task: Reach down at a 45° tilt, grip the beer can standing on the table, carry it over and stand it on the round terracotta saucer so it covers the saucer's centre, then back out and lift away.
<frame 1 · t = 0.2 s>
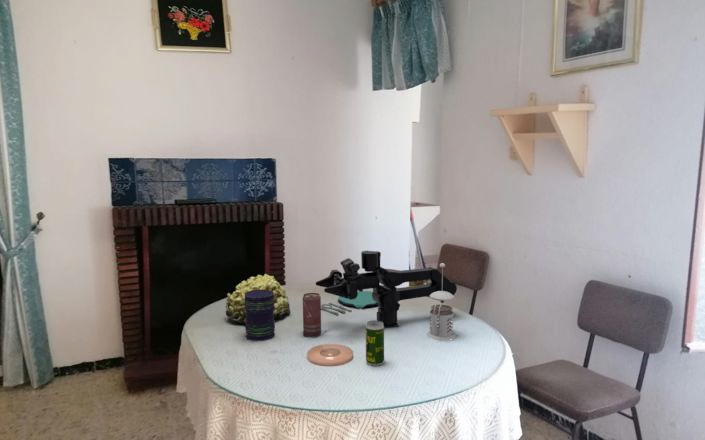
hand: (320, 286, 168), 17 cm above the table, tool horizontal, fingers open, 9 cm apart
french press: (440, 336, 168), on the table
beer can: (374, 363, 147), on the table
can: (312, 334, 170), on the table
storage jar: (260, 336, 169), on the table
saucer: (330, 356, 151), on the table
cauliflower: (258, 316, 190), on the table
cutlery set: (353, 305, 205), on the table
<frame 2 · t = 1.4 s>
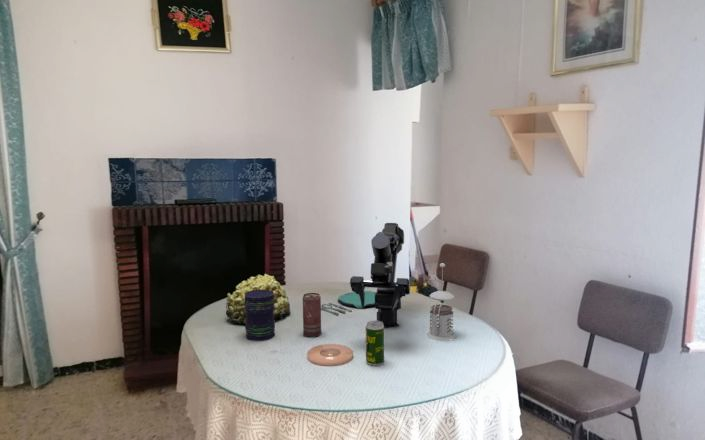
hand: (377, 309, 153), 14 cm above the table, tool tilted 45°, fingers open, 9 cm apart
nothing on the table moved.
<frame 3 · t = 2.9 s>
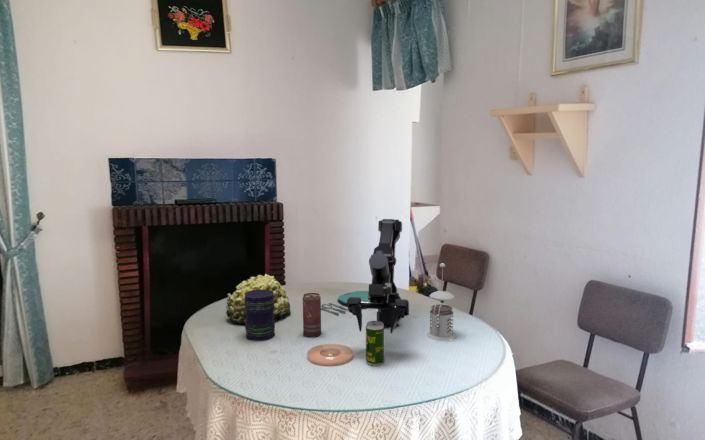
hand: (375, 331, 147), 9 cm above the table, tool tilted 45°, fingers open, 9 cm apart
nothing on the table moved.
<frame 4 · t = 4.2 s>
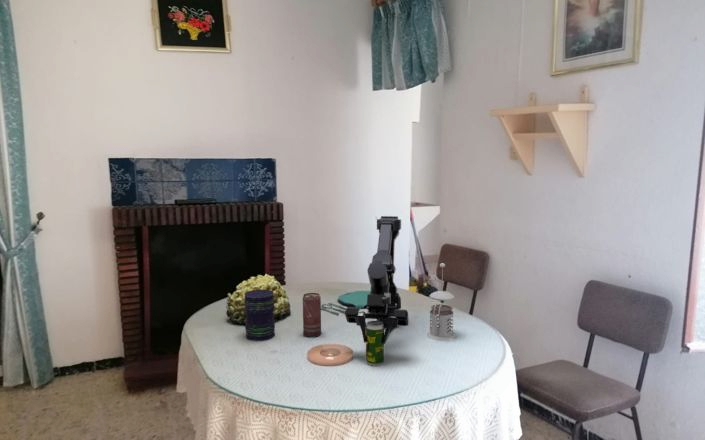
hand: (374, 342, 145), 7 cm above the table, tool tilted 45°, fingers closed on beer can, 5 cm apart
beer can: (374, 363, 147), on the table, touching gripper
everything else where it was.
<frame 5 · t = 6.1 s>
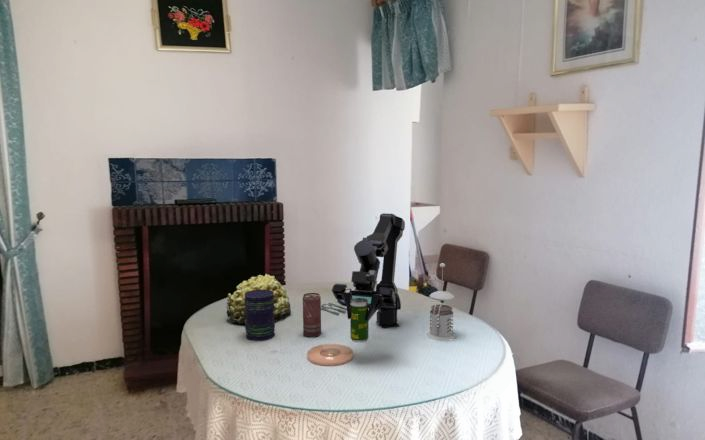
hand: (357, 319, 145), 13 cm above the table, tool tilted 45°, fingers closed on beer can, 5 cm apart
beer can: (359, 340, 147), point 6 cm above the table, touching gripper
everything else where it was.
when the fingers open (9 cm above the table, at t = 8.2 s): beer can stays where it is, resting on saucer.
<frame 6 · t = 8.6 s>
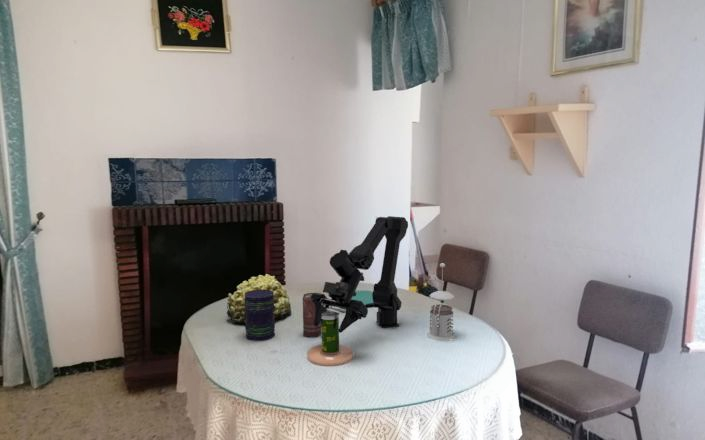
hand: (327, 329, 149), 9 cm above the table, tool tilted 45°, fingers open, 9 cm apart
beer can: (330, 352, 151), point 1 cm above the table, touching saucer
everything else where it was.
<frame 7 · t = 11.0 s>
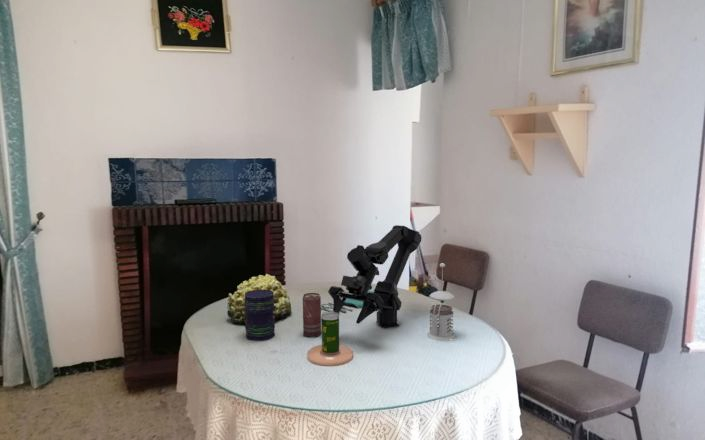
hand: (345, 320, 157), 9 cm above the table, tool tilted 45°, fingers open, 9 cm apart
nothing on the table moved.
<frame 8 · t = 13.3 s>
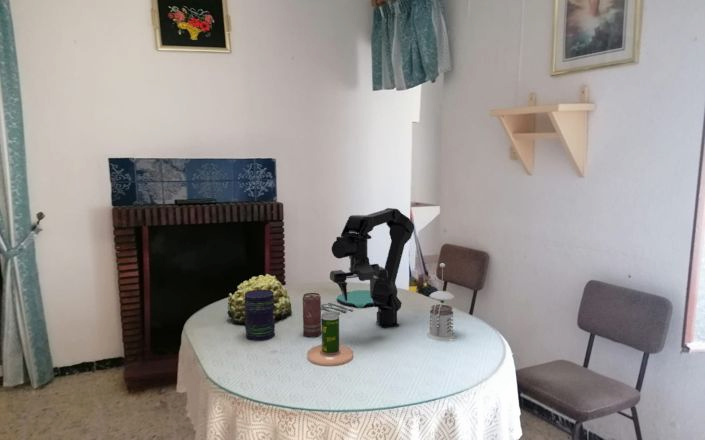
hand: (358, 299, 166), 13 cm above the table, tool pointing down, fingers open, 9 cm apart
at the end: beer can 0.2 cm off-centre on the saucer, point 1.1 cm above the saucer's base; beer can tilted 0°; the gripper is holding nothing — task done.
